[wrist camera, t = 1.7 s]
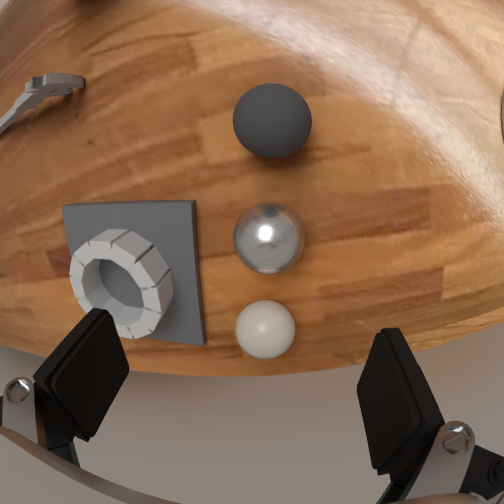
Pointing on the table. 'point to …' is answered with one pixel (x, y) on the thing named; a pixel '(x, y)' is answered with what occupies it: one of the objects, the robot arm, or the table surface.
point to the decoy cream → (265, 329)
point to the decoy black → (272, 120)
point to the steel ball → (269, 238)
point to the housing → (138, 266)
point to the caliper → (41, 94)
